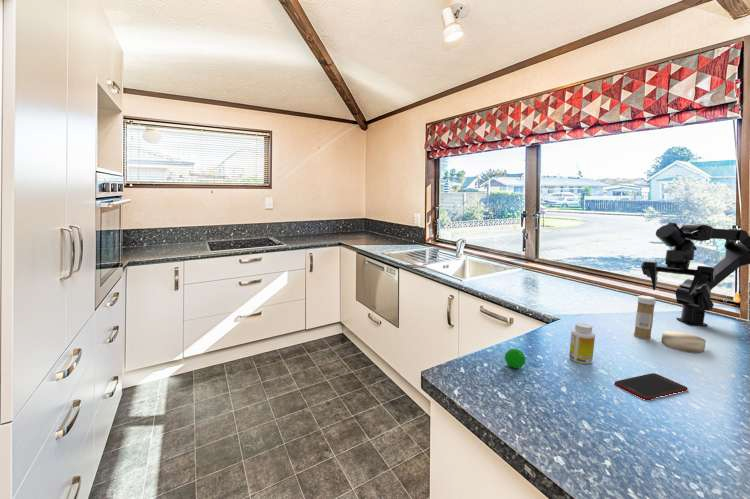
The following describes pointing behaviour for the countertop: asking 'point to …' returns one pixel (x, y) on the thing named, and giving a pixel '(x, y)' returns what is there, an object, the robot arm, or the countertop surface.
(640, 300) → the sprinkles bottle
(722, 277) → the robot arm
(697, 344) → the round beige base
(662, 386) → the cell phone
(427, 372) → the countertop surface
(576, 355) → the supplement bottle
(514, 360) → the green ball
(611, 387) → the countertop surface
